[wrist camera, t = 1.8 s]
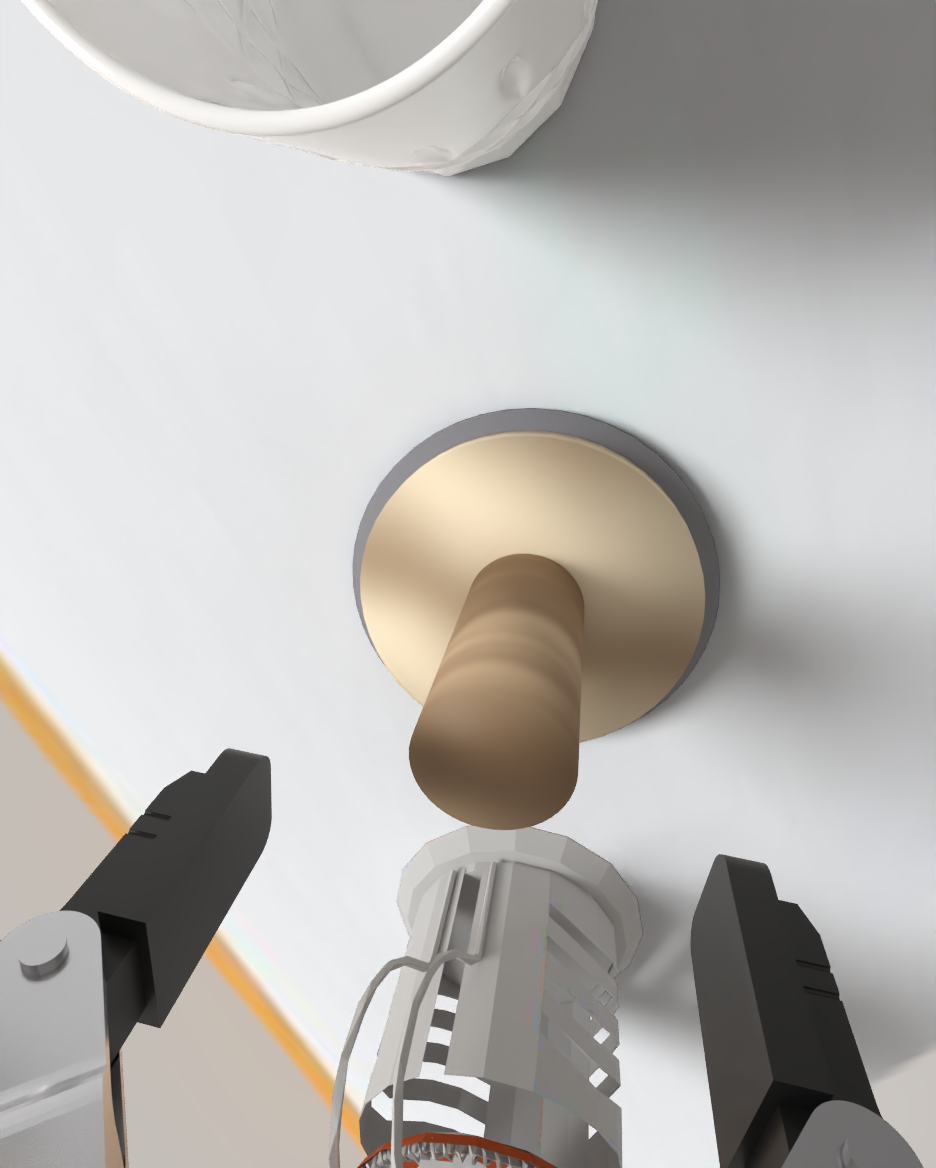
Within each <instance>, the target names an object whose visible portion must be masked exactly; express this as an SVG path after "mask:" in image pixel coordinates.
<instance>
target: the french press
mask: <svg viewBox="0 0 936 1168" xmlns="http://www.w3.org/2000/svg"><path fill="white" fill-rule="evenodd" d="M397 904H398V907H399V910H400V913H401V915H402V918H403V921H404V924H405V926H406V929H407V932H408V935H409V936H410V939H409V942H408V945H407V951H406V954H405V957H401V958H398V959H395V960H391V961H389V962H388V963H387V964H386V965H384V966H383V968H382V969H381V970H380V971H379V973H378V974H377V975H376V976H375V977H374V979H373V980H372V981H371V983H370V985H369V986H368V988H367V990H366V991H365V993H364V995H363V996H362V998H361V1000H360V1001H359V1003H358V1006H357V1009H356V1012H355V1015H354V1018H353V1021H352V1024H351V1027H350V1030H349V1033H348V1036H347V1039H346V1042H345V1045H344V1049H343V1052H342V1055H341V1059H340V1063H339V1067H338V1072H337V1076H336V1081H335V1085H334V1090H333V1094H332V1102H331V1122H330V1142H329V1168H340V1159H339V1158H340V1156H339V1139H340V1128H341V1116H342V1105H343V1097H344V1089H345V1082H346V1074H347V1066H348V1060H349V1057H350V1055H351V1052H352V1049H353V1046H354V1043H355V1040H356V1037H357V1034H358V1032H359V1029H360V1026H361V1023H362V1020H363V1017H364V1014H365V1012H366V1010H367V1008H368V1006H369V1004H370V1001H371V999H372V997H373V995H374V993H375V990H376V988H377V987H378V985H379V984H380V983H381V982H382V980H383V979H384V978H385V977H386V976H387V974H388V973H389V972H390V971H392V970H394V969H397V968H400V967H402V968H401V972H400V976H399V980H398V983H397V986H396V989H395V992H394V995H393V1000H392V1004H391V1008H390V1012H389V1017H388V1020H387V1023H386V1026H385V1030H384V1033H383V1036H382V1040H381V1043H380V1046H379V1049H378V1053H377V1060H376V1063H375V1066H374V1069H373V1072H372V1074H371V1078H370V1082H369V1085H368V1089H367V1093H366V1097H365V1100H364V1104H363V1108H362V1112H361V1116H360V1119H359V1123H360V1138H361V1144H362V1146H363V1148H364V1150H365V1152H366V1154H367V1156H368V1157H366V1158H365V1159H364V1161H363V1162H362V1163H361V1164H360V1165H359V1166H358V1168H622V1118H621V1108H620V1107H619V1106H618V1105H617V1104H616V1103H614V1102H613V1101H612V1100H610V1099H609V1097H610V1096H611V1095H612V1094H613V1093H614V1092H615V1091H616V1090H617V1089H618V1088H619V1087H620V1086H621V1084H620V1069H619V1060H618V1059H617V1058H616V1057H615V1056H614V1055H613V1054H612V1053H613V1052H614V1050H615V1049H616V1048H617V1047H618V1046H619V1030H618V1020H617V1019H616V1017H615V1016H614V1015H613V1014H614V1013H615V1011H616V1010H617V1009H618V993H617V984H616V982H615V980H614V978H615V977H616V975H618V974H619V973H620V972H621V971H623V970H624V969H625V968H627V967H628V966H629V965H630V963H631V961H632V959H633V956H634V954H635V952H636V949H637V947H638V945H639V942H640V940H641V938H642V935H643V930H642V925H641V919H640V913H639V907H638V902H637V898H636V896H635V895H634V894H633V892H632V891H631V890H630V888H629V887H628V886H627V884H626V883H625V882H624V881H623V879H622V878H621V877H620V875H619V874H618V873H617V871H616V870H615V869H614V868H613V866H612V865H611V864H610V863H609V862H607V861H606V860H604V859H602V858H601V857H599V856H597V855H596V854H594V853H593V852H591V851H589V850H588V849H586V848H584V847H583V846H581V845H580V844H578V843H576V842H575V841H573V840H572V839H570V838H568V837H565V836H561V835H557V834H554V833H550V832H546V831H542V830H538V829H534V828H530V827H527V828H523V829H516V830H492V829H486V828H480V827H477V826H466V827H463V828H461V829H458V830H456V831H454V832H451V833H449V834H446V835H444V836H442V837H439V838H437V839H434V840H432V841H429V842H427V843H426V844H425V845H424V846H423V847H422V848H421V849H420V851H419V852H418V853H417V854H416V855H415V856H414V857H413V858H412V860H411V861H410V862H409V863H408V864H407V865H406V866H405V867H404V869H403V870H402V875H401V881H400V886H399V892H398V898H397ZM605 991H606V992H607V993H608V994H610V995H611V996H612V997H611V999H610V1000H609V1002H608V1003H607V1004H606V1005H605V1006H603V1005H602V1004H601V1003H600V1002H599V1001H598V1000H597V999H598V998H599V997H600V996H601V995H602V994H603V993H604V992H605ZM437 994H438V995H443V996H447V997H450V998H453V999H457V1000H458V1004H457V1009H456V1014H455V1013H452V1012H449V1011H445V1010H439V1009H434V1007H435V1003H436V998H437ZM590 1016H591V1017H592V1018H593V1019H592V1020H591V1021H590ZM430 1026H432V1027H438V1028H441V1029H445V1030H448V1031H452V1036H451V1041H450V1046H446V1045H443V1044H438V1043H430V1042H427V1039H428V1034H429V1030H430ZM602 1027H603V1028H604V1029H606V1030H607V1031H608V1032H609V1033H610V1035H609V1036H608V1038H607V1039H606V1040H605V1041H604V1042H603V1043H602V1044H599V1043H598V1042H597V1041H596V1040H595V1039H594V1038H593V1036H594V1035H595V1034H596V1033H597V1032H598V1031H599V1030H600V1029H601V1028H602ZM422 1062H432V1063H438V1064H442V1065H445V1066H446V1067H445V1073H444V1074H445V1075H457V1076H469V1077H476V1078H478V1079H480V1080H481V1081H483V1082H485V1083H487V1084H489V1085H491V1087H490V1094H489V1101H488V1102H487V1101H485V1100H483V1099H481V1098H479V1097H477V1096H475V1095H473V1094H471V1093H470V1092H468V1091H466V1090H464V1089H462V1088H459V1087H456V1086H452V1085H449V1084H445V1083H442V1082H438V1081H434V1080H427V1079H415V1078H416V1077H419V1075H420V1071H421V1066H422ZM598 1068H600V1069H602V1070H603V1071H604V1072H605V1073H607V1074H608V1076H607V1078H606V1079H605V1080H604V1081H603V1082H602V1083H601V1084H600V1085H599V1086H598V1087H597V1088H595V1087H594V1086H593V1085H592V1084H591V1083H590V1082H589V1077H590V1076H591V1075H592V1074H593V1073H594V1072H595V1071H596V1070H597V1069H598ZM382 1091H383V1092H384V1093H385V1094H386V1095H387V1096H388V1097H389V1098H393V1108H392V1121H387V1120H385V1119H384V1118H383V1117H382V1116H381V1115H380V1114H379V1113H378V1112H377V1111H376V1110H374V1109H373V1108H372V1107H371V1100H372V1099H373V1098H374V1097H375V1096H377V1095H378V1094H379V1093H380V1092H382ZM403 1099H405V1100H421V1101H431V1102H434V1103H438V1104H441V1105H445V1106H449V1107H452V1108H456V1109H459V1110H460V1111H462V1112H464V1113H466V1114H467V1115H469V1116H471V1117H473V1118H475V1119H476V1120H478V1121H480V1122H482V1123H483V1124H485V1132H484V1138H482V1137H479V1136H474V1135H469V1134H464V1133H459V1132H457V1131H456V1130H453V1129H450V1128H446V1127H442V1126H438V1125H434V1124H431V1123H427V1122H417V1121H403ZM588 1124H589V1125H590V1126H592V1127H593V1128H595V1129H596V1130H597V1132H596V1133H595V1134H594V1135H593V1136H592V1137H591V1138H590V1139H589V1140H588Z"/></svg>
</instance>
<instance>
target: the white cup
mask: <svg viewBox="0 0 936 1168" xmlns="http://www.w3.org/2000/svg"><path fill="white" fill-rule="evenodd" d="M21 1H22V2H23V3H24V5H25V6H26V7H27V8H28V9H29V10H30V11H31V13H32V14H33V15H34V16H35V17H36V18H37V19H38V20H39V21H40V22H41V23H42V24H43V25H44V26H45V28H46V29H47V30H48V31H49V32H50V33H51V34H52V35H53V36H55V37H56V38H57V39H58V40H59V41H60V42H61V43H62V44H63V45H64V46H65V47H66V48H67V49H68V50H70V51H71V52H72V53H73V54H74V55H75V56H76V57H78V58H79V59H80V60H81V61H82V62H84V63H85V64H86V65H87V66H89V67H90V68H91V69H93V70H94V71H95V72H96V73H98V74H99V75H101V76H102V77H103V78H105V79H106V80H108V81H109V82H110V83H112V84H113V85H115V86H116V87H118V88H120V89H121V90H123V91H124V92H126V93H128V94H129V95H131V96H133V97H134V98H136V99H138V100H140V101H142V102H144V103H145V104H147V105H149V106H151V107H153V108H155V109H158V110H160V111H162V112H164V113H167V114H169V115H171V116H174V117H176V118H179V119H182V120H184V121H187V122H190V123H193V124H196V125H200V126H203V127H207V128H211V129H215V130H219V131H223V132H227V133H232V134H236V135H240V136H244V137H248V138H252V139H256V140H260V141H264V142H267V143H271V144H275V145H280V146H285V147H289V148H292V149H296V150H300V151H304V152H307V153H311V154H314V155H317V156H321V157H324V158H328V159H331V160H336V161H340V162H345V163H351V164H359V165H364V166H369V167H376V168H383V169H387V170H393V171H425V172H429V173H434V174H438V175H443V176H451V175H455V174H458V173H461V172H464V171H467V170H470V169H473V168H476V167H480V166H483V165H486V164H489V163H492V162H495V161H498V160H502V159H505V158H508V157H509V156H511V155H512V154H513V153H514V152H515V151H516V150H517V149H518V148H519V147H520V146H521V145H522V144H523V143H524V142H525V141H526V140H527V139H528V138H529V137H530V136H531V135H532V134H533V133H534V132H535V131H536V130H537V129H538V128H539V127H540V126H541V125H542V124H543V123H544V122H545V121H546V120H547V119H548V118H549V117H550V116H551V115H552V114H553V113H554V112H555V111H556V110H557V109H558V108H559V107H560V106H561V104H562V102H563V100H564V97H565V95H566V92H567V90H568V88H569V85H570V83H571V81H572V78H573V76H574V74H575V71H576V69H577V66H578V64H579V62H580V59H581V57H582V55H583V52H584V50H585V48H586V45H587V43H588V40H589V38H590V36H591V33H592V31H593V28H594V21H595V10H596V7H597V3H598V0H21Z"/></svg>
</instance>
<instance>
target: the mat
mask: <svg viewBox="0 0 936 1168" xmlns="http://www.w3.org/2000/svg"><path fill="white" fill-rule="evenodd" d="M513 430H541V431H553V432H559V433H564V434H568V435H573V436H577V437H581V438H584V439H586V440H589V441H592V442H595V443H598V444H600V445H603V446H605V447H607V448H609V449H610V450H612V451H614V452H616V453H618V454H620V455H622V456H624V457H625V458H627V459H628V460H630V461H631V462H632V463H634V464H635V465H637V466H638V467H640V468H641V469H642V470H644V471H645V472H646V473H647V474H648V475H649V476H650V477H651V478H652V479H653V480H654V481H655V482H656V483H658V484H659V485H660V486H661V488H662V489H663V490H664V491H665V493H666V494H667V495H668V496H669V497H670V499H671V500H672V501H673V502H674V504H675V505H676V507H677V509H678V510H679V512H680V514H681V515H682V517H683V519H684V520H685V522H686V524H687V526H688V529H689V531H690V534H691V536H692V539H693V541H694V543H695V546H696V549H697V552H698V555H699V559H700V564H701V568H702V572H703V576H704V587H705V610H704V620H703V625H702V629H701V634H700V638H699V641H698V644H697V646H696V649H695V651H694V654H693V657H692V659H691V661H690V662H689V664H688V666H687V668H686V669H685V671H684V673H683V675H682V676H681V677H680V679H679V680H678V681H677V683H676V684H675V685H674V687H673V688H672V689H671V690H670V692H669V693H668V694H667V695H666V696H665V697H664V698H663V699H662V700H661V701H660V702H659V703H658V704H657V705H656V706H654V707H653V708H652V709H650V710H649V711H648V712H646V713H645V714H644V715H646V714H648V713H649V712H650V711H652V710H653V709H654V708H656V707H657V706H658V705H660V704H661V703H662V702H664V701H665V700H666V699H667V698H668V697H669V696H670V695H671V694H672V693H673V692H674V691H675V690H676V689H677V688H678V687H679V686H680V685H681V684H682V683H683V682H684V680H685V679H686V678H687V676H688V675H689V674H690V673H691V671H692V670H693V669H694V667H695V666H696V664H697V662H698V660H699V659H700V657H701V655H702V653H703V652H704V650H705V648H706V645H707V643H708V640H709V638H710V635H711V632H712V630H713V627H714V622H715V618H716V614H717V609H718V602H719V589H720V579H719V567H718V558H717V554H716V550H715V546H714V541H713V537H712V535H711V532H710V530H709V527H708V525H707V522H706V520H705V517H704V515H703V512H702V510H701V508H700V507H699V505H698V503H697V502H696V500H695V498H694V496H693V495H692V493H691V491H690V490H689V488H688V487H687V486H686V485H685V483H684V482H683V481H682V480H681V478H680V477H679V476H678V475H677V473H676V472H675V471H674V470H673V469H672V468H671V467H670V466H669V465H668V464H667V463H666V462H665V461H664V460H663V459H662V458H661V457H660V456H659V455H658V454H656V453H655V452H654V451H653V450H651V449H650V448H648V447H647V446H646V445H644V444H643V443H641V442H640V441H639V440H637V439H636V438H634V437H633V436H631V435H629V434H627V433H625V432H623V431H621V430H619V429H617V428H615V427H613V426H612V425H609V424H607V423H604V422H601V421H598V420H595V419H593V418H590V417H587V416H584V415H579V414H574V413H570V412H565V411H560V410H550V409H537V408H526V409H507V410H501V411H496V412H491V413H486V414H481V415H478V416H475V417H472V418H469V419H466V420H463V421H460V422H457V423H455V424H453V425H451V426H449V427H447V428H445V429H443V430H441V431H439V432H437V433H435V434H433V435H432V436H431V437H429V438H428V439H426V440H425V441H423V442H422V443H420V444H419V445H417V446H416V447H415V448H414V449H413V450H411V451H410V452H409V453H408V454H407V455H406V456H405V457H404V458H403V459H402V460H401V461H399V462H398V463H397V464H396V465H395V466H394V468H393V469H392V470H391V471H390V472H389V474H388V475H387V476H386V477H385V479H384V480H383V481H382V482H381V483H380V485H379V487H378V488H377V490H376V492H375V493H374V495H373V497H372V498H371V500H370V502H369V503H368V506H367V508H366V511H365V513H364V515H363V518H362V520H361V523H360V526H359V530H358V534H357V538H356V542H355V548H354V557H353V587H354V593H355V599H356V605H357V609H358V612H359V615H360V618H361V621H362V625H363V627H364V629H365V632H366V634H367V636H368V638H369V640H370V643H371V645H372V646H373V648H374V650H375V651H376V649H375V646H374V644H373V642H372V640H371V638H370V635H369V632H368V629H367V626H366V622H365V619H364V615H363V609H362V603H361V593H360V575H361V566H362V558H363V554H364V551H365V547H366V543H367V539H368V537H369V535H370V532H371V530H372V528H373V525H374V523H375V521H376V519H377V517H378V516H379V514H380V513H381V511H382V509H383V508H384V506H385V504H386V503H387V502H388V500H389V499H390V498H391V497H392V496H393V494H394V493H395V492H396V491H397V490H398V488H399V487H400V486H401V485H402V484H403V483H404V482H405V481H406V479H407V478H408V477H410V476H411V475H412V474H413V473H414V472H415V471H416V470H417V469H418V468H420V467H421V466H422V465H423V464H424V463H426V462H427V461H429V460H430V459H432V458H433V457H435V456H436V455H438V454H439V453H441V452H443V451H445V450H447V449H449V448H451V447H453V446H455V445H457V444H459V443H461V442H464V441H467V440H470V439H473V438H476V437H479V436H482V435H487V434H492V433H498V432H503V431H513ZM376 653H377V651H376ZM377 655H378V653H377ZM378 656H379V655H378ZM379 658H380V656H379ZM380 659H381V658H380ZM381 661H382V660H381ZM382 663H383V661H382ZM383 664H384V663H383ZM384 665H385V664H384ZM644 715H642V716H644ZM642 716H641V717H642ZM641 717H640V718H641ZM638 719H639V718H638ZM636 720H637V719H636ZM633 722H634V721H633ZM631 723H632V722H631Z"/></svg>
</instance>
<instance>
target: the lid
mask: <svg viewBox="0 0 936 1168" xmlns="http://www.w3.org/2000/svg"><path fill="white" fill-rule="evenodd" d="M360 593H361V603H362V609H363V615H364V619H365V622H366V626H367V629H368V632H369V635H370V638H371V640H372V642H373V644H374V646H375V649H376V651H377V653H378V655H379V656H380V658H381V660H382V661H383V663H384V664H385V666H386V668H387V669H388V671H389V672H390V673H391V674H392V676H393V677H394V678H395V679H396V681H397V682H398V683H399V685H400V686H401V687H402V688H403V689H404V690H405V691H406V692H407V693H408V694H409V695H410V696H411V697H412V698H413V699H415V700H416V701H417V702H418V703H420V704H421V705H422V706H423V709H422V712H421V714H420V717H419V719H418V722H417V724H416V727H415V729H414V732H413V735H412V738H411V741H410V747H409V760H410V766H411V770H412V773H413V776H414V778H415V780H416V782H417V784H418V785H419V787H420V788H421V790H422V791H423V793H424V794H425V795H426V796H427V797H428V799H429V800H430V801H432V802H433V803H434V804H435V805H436V806H437V807H438V808H440V809H441V810H442V811H444V812H445V813H447V814H448V815H450V816H452V817H454V818H456V819H458V820H460V821H462V822H464V823H467V824H470V825H473V826H477V827H480V828H486V829H492V830H516V829H523V828H527V827H531V826H534V825H537V824H539V823H542V822H544V821H545V820H547V819H549V818H551V817H552V816H554V815H555V814H556V813H558V812H559V811H560V810H561V809H562V808H563V807H564V806H565V805H566V803H567V802H568V801H569V799H570V798H571V796H572V794H573V792H574V789H575V786H576V783H577V777H578V760H579V742H584V741H588V740H591V739H594V738H598V737H601V736H604V735H606V734H609V733H611V732H613V731H616V730H618V729H621V728H623V727H624V726H626V725H628V724H630V723H631V722H633V721H635V720H636V719H638V718H640V717H641V716H642V715H644V714H645V713H646V712H648V711H649V710H650V709H652V708H653V707H654V706H656V705H657V704H658V703H659V702H660V701H661V700H662V699H663V698H664V697H665V696H666V695H667V694H668V693H669V692H670V690H671V689H672V688H673V687H674V685H675V684H676V683H677V681H678V680H679V679H680V677H681V676H682V675H683V673H684V671H685V669H686V668H687V666H688V664H689V662H690V661H691V659H692V657H693V654H694V651H695V649H696V646H697V644H698V641H699V638H700V634H701V629H702V625H703V620H704V610H705V587H704V576H703V572H702V568H701V564H700V559H699V555H698V552H697V549H696V546H695V543H694V541H693V539H692V536H691V534H690V531H689V529H688V526H687V524H686V522H685V520H684V519H683V517H682V515H681V514H680V512H679V510H678V509H677V507H676V505H675V504H674V502H673V501H672V500H671V499H670V497H669V496H668V495H667V494H666V493H665V491H664V490H663V489H662V488H661V486H660V485H659V484H658V483H656V482H655V481H654V480H653V479H652V478H651V477H650V476H649V475H648V474H647V473H646V472H645V471H644V470H642V469H641V468H640V467H638V466H637V465H635V464H634V463H632V462H631V461H630V460H628V459H627V458H625V457H624V456H622V455H620V454H618V453H616V452H614V451H612V450H610V449H609V448H607V447H605V446H603V445H600V444H598V443H595V442H592V441H589V440H586V439H584V438H581V437H577V436H573V435H568V434H564V433H559V432H553V431H541V430H513V431H503V432H498V433H492V434H487V435H482V436H479V437H476V438H473V439H470V440H467V441H464V442H461V443H459V444H457V445H455V446H453V447H451V448H449V449H447V450H445V451H443V452H441V453H439V454H438V455H436V456H435V457H433V458H432V459H430V460H429V461H427V462H426V463H424V464H423V465H422V466H421V467H420V468H418V469H417V470H416V471H415V472H414V473H413V474H412V475H411V476H410V477H408V478H407V479H406V481H405V482H404V483H403V484H402V485H401V486H400V487H399V488H398V490H397V491H396V492H395V493H394V494H393V496H392V497H391V498H390V499H389V500H388V502H387V503H386V504H385V506H384V508H383V509H382V511H381V513H380V514H379V516H378V517H377V519H376V521H375V523H374V525H373V528H372V530H371V532H370V535H369V537H368V539H367V543H366V547H365V551H364V554H363V558H362V566H361V575H360Z"/></svg>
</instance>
